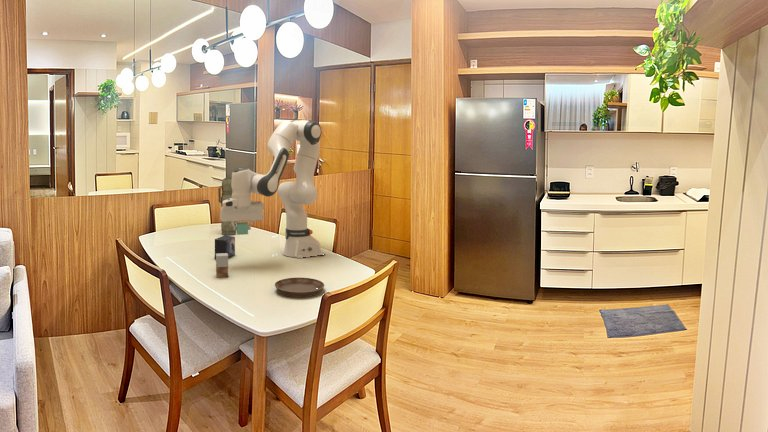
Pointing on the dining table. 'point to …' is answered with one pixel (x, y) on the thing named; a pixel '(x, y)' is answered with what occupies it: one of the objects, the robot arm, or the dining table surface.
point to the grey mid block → (222, 260)
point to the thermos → (226, 194)
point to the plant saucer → (299, 287)
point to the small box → (225, 245)
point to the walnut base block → (221, 272)
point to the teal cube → (242, 228)
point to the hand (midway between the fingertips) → (242, 229)
